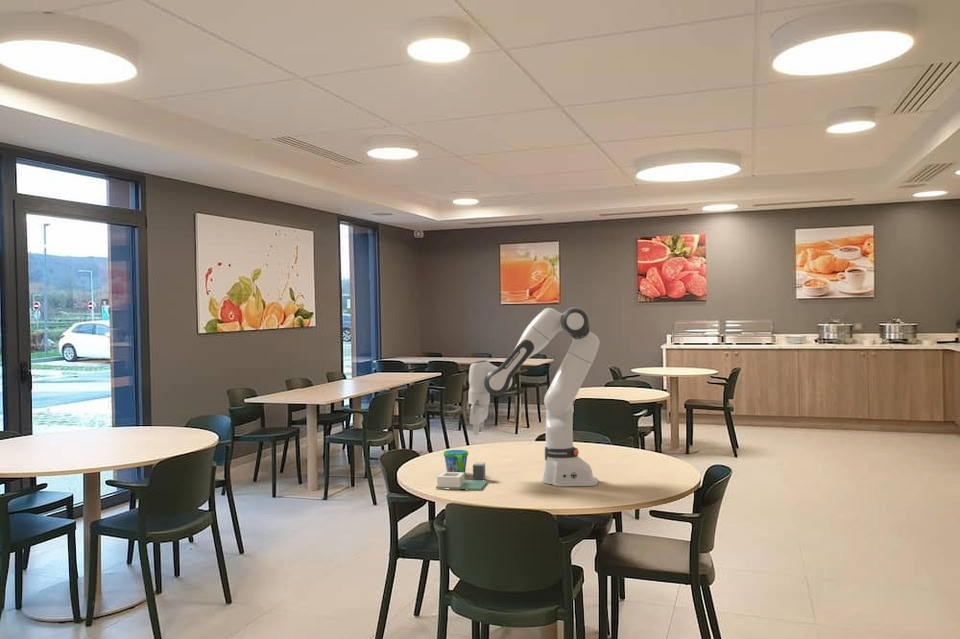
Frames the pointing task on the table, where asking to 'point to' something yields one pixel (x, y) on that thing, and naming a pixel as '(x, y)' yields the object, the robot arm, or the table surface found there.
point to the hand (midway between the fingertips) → (478, 432)
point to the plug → (479, 471)
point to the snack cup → (456, 460)
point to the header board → (470, 485)
